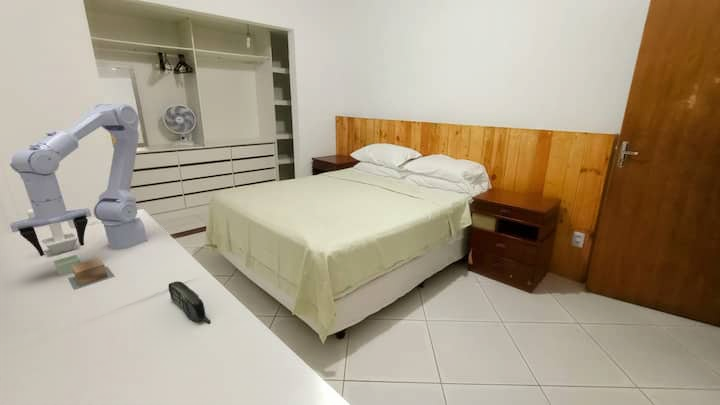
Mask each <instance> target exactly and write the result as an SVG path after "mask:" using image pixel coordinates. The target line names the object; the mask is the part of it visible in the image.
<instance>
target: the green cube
mask: <svg viewBox="0 0 720 405" xmlns="http://www.w3.org/2000/svg"><path fill="white" fill-rule="evenodd" d="M53 262H54V267H55V269H56V272H57V274H58V276H59V277H64V276H67V275H70V274H72V273H73V274H74V272H73V269H72V265H75V264H79V263H81V261H80V258H79V257H78V256H77V254H74V255H70V256H67V257H64V258H60V259H55V260H53Z"/></svg>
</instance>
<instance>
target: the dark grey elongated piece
mask: <svg viewBox="0 0 720 405" xmlns="http://www.w3.org/2000/svg"><path fill="white" fill-rule="evenodd" d="M168 291H169V295H170V299H171V302H173V303H175V306H176V305H177V307H179V308H180V310H182V311H183V313H184V314H185V315H186V317H187V318H188V319H190V320H193V321H196V322H199V321H205V323H208V324H210V323H211V320H210V319H209V318H208V317H207V316H206V310H205V305H204V302H203V300H202V299H201V298H200V296H199V295H198V293H196V292H195V291H194V290H193V289H192V288H190V287H189V286H188V285H187V284H185V283H184V282H181V281H173V282H170V283H169V284H168Z"/></svg>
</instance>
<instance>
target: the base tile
mask: <svg viewBox="0 0 720 405" xmlns="http://www.w3.org/2000/svg"><path fill="white" fill-rule="evenodd" d="M105 269H106V272H107V276H108V277H105V278H102V279H99V280H96V281H93V282H90V283H87V284H84V285H81V286H79V284H78V282H77V280H76V278H75V275H73V276H71V277H68V278H67V279H68V281H69V283H70V285H71V287H72V289H73V291H75V290H79V289H81V288H85V287H87V286H90V285H94V284H97V283H99V282H102V281H105V280H109V279H112V278H114V277H115V274H114V273H113V272H112V271H111V269H110V268H109V267H108V266H106V265H105Z"/></svg>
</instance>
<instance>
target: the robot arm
mask: <svg viewBox="0 0 720 405" xmlns="http://www.w3.org/2000/svg"><path fill="white" fill-rule="evenodd" d="M139 121H140V116H139V114H138V113H137V112H136V109H135V108H134V107H133V106H132V105H130V104H127V103H122V104H104V103H103V104H102V103H99V104H96V105H94V106H93V107H91V108H89V109H88V112H86V113H85V114H84V115H82V116H81V117H80V118H79V119H77V121H75V122H73V124H72V125H70V126H69V127H68V128H66V130H60V129H56V130H48V131H47V132H46V135H47V136H45V137H43V138H41V139H40V140H38V141H37V142H32V143H31V144H29V149H20V150H18V151H16V152H15V153H14V154H13V155H12V158H11V162H10V163H9V166H10V168H11V169H12V170H13V171H14V172H16V173H18V175H19V176H20V178H21V180H23V184H24V187H25V190H26V193H27V196H28V199H29V202H30V205H31V208H32V209H33V211H34V214H35V217H33V218H29V217H28V218H25V219H21V220H18V221H13V222H9V226H10V229H11V233H17V232H18V233H19V235H20V236H21V237H23V238H24V239H26V241H27V242H29V243H30V244H31V245H32V246H33V247H34V249H36V250H37V252H38V253H39V256H40V257H43V256H45V253H44V250H43V247H42V246H41V244H40V242H39V239H38V236H37V233H36V230H35V228H39V227H38V226H42V227H44V226H43V225H47V226H49V225H48V224H53V223H58V222H60V223H64V222H63V221H65V222H68V220H72V219H73V222H74V225H75V228H74V229H75V230H76V237H77V238H78V239H77V241H78V243H79V246H82V247H83V246H85V231H86V229H87V226H88V218H90V217H93V216H92V212H91V210H90V208H89V207H87V208H86V207H85V208H81V209H73V210H67V206H66V205H65V202H64V197H63V195H62V191H61V189H60V185H59V182H58V179H57V174H56V171H57V170H58V169H59V168H60V162H62V161H63V160H64V159H65V158H66V157H68V156H69V155H70V154H72V153H73V152H74V151H76V150H77V149H78V148H79V141H81V140H82V139H84V138H85V137H87V136H88V135H90V134H91V133H93V132H94V131H95V130H98V129H99V128H101V127H102V128H103V129H104V130H105V131H107V132H108V133H109V134H111V135H112V136H113V137H114V139H115V143H114V148H113V153H112V159H111V166H110V172H109V177H108V181H107V188H106V190H105V191H104V192H102V193H101V194H99V195H98V200H97V202H96V203H95V204H94V206H93V210H92V211H93V215H94V217H95V218H96V219H97V220H99V221H101V224H102V225H103V227H104V231H105V234H106V238H107V242H108V246H109V249H110V250H114V251H115V250H125V249H128V248H131V247H132V248H133V247H134V246H136V245H141V244H143V243H147V242H148V236H147V233H146V229H145V225H144V222H143V220H142V219H141V217H137V215H138V208H137V198H136V197H135V196H134V195H133V194H132V192H131V186H132V182H133V180H132V179H133V174H134V169H135V168H134V167H135V163H136V156H137V151H138V145H139V144H138V143H139V130H138V127H139ZM57 172H58V171H57Z"/></svg>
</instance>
